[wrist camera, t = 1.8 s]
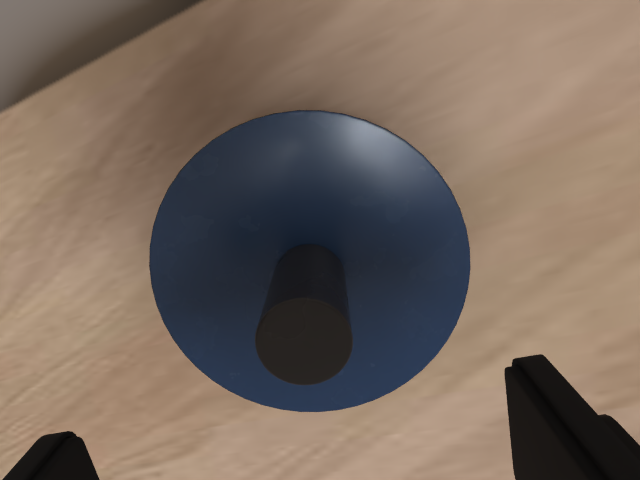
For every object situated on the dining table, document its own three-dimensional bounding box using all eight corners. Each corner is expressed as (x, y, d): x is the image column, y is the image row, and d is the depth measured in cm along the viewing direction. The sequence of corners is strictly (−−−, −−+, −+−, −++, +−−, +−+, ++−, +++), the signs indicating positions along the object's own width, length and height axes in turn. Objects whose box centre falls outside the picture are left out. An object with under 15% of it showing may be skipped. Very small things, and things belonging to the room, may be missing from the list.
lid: (325, 34, 17) (326, -11, 11) (522, 281, 20) (617, 364, 13) (96, 253, 20) (-15, 323, 13) (298, 443, 22) (288, 576, 16)
